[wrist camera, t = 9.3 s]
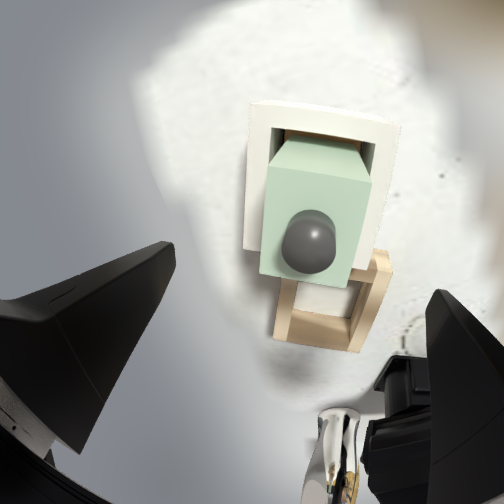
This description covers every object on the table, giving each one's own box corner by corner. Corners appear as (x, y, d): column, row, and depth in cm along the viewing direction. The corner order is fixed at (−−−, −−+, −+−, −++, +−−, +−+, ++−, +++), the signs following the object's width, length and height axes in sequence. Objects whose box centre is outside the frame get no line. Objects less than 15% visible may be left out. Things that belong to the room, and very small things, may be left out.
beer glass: (315, 426, 39) (298, 515, 26) (314, 404, 35) (296, 508, 23) (360, 426, 37) (351, 517, 24) (366, 405, 33) (358, 510, 21)
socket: (360, 233, 22) (366, 270, 18) (259, 216, 23) (242, 248, 19) (383, 117, 17) (400, 127, 13) (267, 99, 18) (249, 103, 14)
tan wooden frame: (358, 329, 27) (359, 353, 24) (278, 316, 28) (272, 338, 26) (387, 250, 22) (393, 272, 19) (290, 233, 23) (284, 253, 21)
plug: (341, 215, 20) (345, 310, 12) (284, 205, 20) (251, 293, 12) (354, 144, 17) (378, 197, 9) (291, 134, 18) (258, 177, 10)
